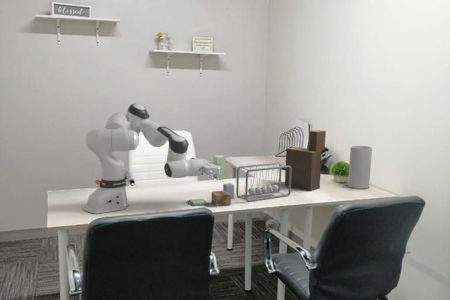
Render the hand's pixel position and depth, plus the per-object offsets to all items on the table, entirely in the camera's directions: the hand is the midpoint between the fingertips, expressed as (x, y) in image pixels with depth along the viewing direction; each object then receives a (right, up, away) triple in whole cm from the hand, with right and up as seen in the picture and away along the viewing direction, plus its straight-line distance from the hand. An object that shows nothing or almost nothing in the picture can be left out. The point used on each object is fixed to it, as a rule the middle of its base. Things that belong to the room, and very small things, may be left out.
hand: (220, 165), depth 220 cm
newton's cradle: (+24, -18, +13) cm, 33 cm away
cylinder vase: (+85, -15, +40) cm, 95 cm away
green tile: (-12, -20, -1) cm, 23 cm away
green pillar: (-1, -7, +1) cm, 7 cm away
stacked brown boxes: (+51, -15, +37) cm, 65 cm away
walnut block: (0, -20, -1) cm, 20 cm away
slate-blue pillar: (+4, -19, +9) cm, 21 cm away
